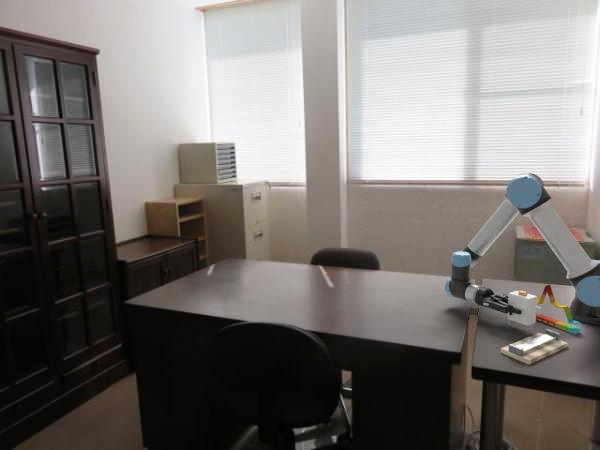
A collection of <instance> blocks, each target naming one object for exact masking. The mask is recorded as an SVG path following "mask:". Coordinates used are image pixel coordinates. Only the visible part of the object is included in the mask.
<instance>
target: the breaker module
mask: <svg viewBox="0 0 600 450" xmlns="http://www.w3.org/2000/svg"><path fill="white" fill-rule="evenodd" d="M507 295H508V304H509V305H511V306H513V308H514V306H517V307H521V308H524V309H527V310H530V311H532V316H531V319H530V318H527V317H524V316H520V315H517V314H514V313H512V315H509V312H508V314H506V315H507V316H506V317H507V318H506V324H507V325H510V326H512V325H515V324H518V323H519V324H521V325H522V327H523V328H522V329H523V331H526V332H527V331H528V332H529V331H530V330H534V329H535V328H536V321H537V320H536V308H537V305H538V304H537V296H538V295H537V296H536V295H534V294H531V293H528V291H525V290H515V291H512V292H509V293H507Z"/></svg>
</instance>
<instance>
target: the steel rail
mask: <svg viewBox="0 0 600 450" xmlns="http://www.w3.org/2000/svg"><path fill="white" fill-rule="evenodd" d="M543 334H544V335H542V336H539V337H537V338H535V339H532V340H530V341H527V342H525V343H522V344H520V345H518V346H515V345H513V343H510V344H508V345H509V351H508V352H511V353H513V354H516V355H518V356H520V357H522V356H523V355H524V354H526V353H528V352H531V351H533V350H535V349H537V348H540V347H542V346H544V345H547V344H549V343H551V342H554V341H556V340H557V341H558V340H561V333H560V332H559V331H555V330H551V329H549V328H546V329H545V333H543Z"/></svg>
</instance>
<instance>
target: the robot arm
mask: <svg viewBox="0 0 600 450" xmlns="http://www.w3.org/2000/svg"><path fill="white" fill-rule="evenodd" d="M552 199H553V198H552V196H551V195H550V194H549V193H548V191H547V189H546V188H545V185H544V182H543V180H542V178H541V177H540V176H539V175H537V174H535V173H533V172H532V173H531V172H524V173H520V174H518V175H516V176H515V177H514V178H512V179H511V180H510V181H509V182H508V184H507V186H506V191H505V195H504V200H503V201H502V203H501V204H500V205H499V206H498V207H497V208H496V210H495V211H494V212H493V213H492V214H491V216H490V217H489V219H488V220H487V221H486V222H485V223H484V224H483V226H481V228H480V230H479V231H478V232H477V233H476V234H475V235H474V237H473V238H472V239H471V240H470V241H469V243H468V244H467V245H466V246H465V248H464V249H463V250H461V251H455V252H453V253H452V255H451V260H450V261H451V267H450V268H451V271H450V272H451V273H450V274H451V276H450V277H449V278H448V279H447V280H446V282H445V285H444V292H445V293H446V294H448V296H452V297H453V298H455V299H460V300H463V301H466V302H468V303H469V302H470V303H471V304H472V305H475V304H476V305H478V306H481V307H483V308H488V309H491V310H494V311H496V312H499V313H502V314H506V315H507V314H508V312H509V315H512V313H514V314H517V315H520V316H524V317H527V318H530V319H531V316H532V311H530V310H527V309H524V308H521V307H517V306H514V308H513V306H511V305H509V304H508V293H503V294H502V295H500V294H498V293H494V290H492V288H489V287H485V286H482V285H479V284H475V283H471V270H472V269H473V268H474V267H475V266H476V265H477V264H478V262H479V261H480V259H481V258H482V257H483V256H484V254H485V253H486V252H487V251H488V250H490V249H489V248H491V246H492V245H493V244H494V243H495V241H496V240H498V238H499V237H500V235H502V234H503V232H504V231H505V230H506V229H507V227H508V226H509V225H510V224H511V223H512V222H513V220H514V219H515V218H516V217H517V216H518V215H519V213H520V214H521V216H522V217H527V218H528V219H530V221H531V222H532V224H533V225H534V227H535V228H536V229H537V231H538V233H539V235H541V236H542V238H543V239H544V241H545V242H546V243H547V245H548V246H549V247H550V249H551V250H552V252H553V253H554V254H555V256H556V258H558V260H559V262H560V263H561V265H562V266H563V267H564V268H565V270H566V271H567V274H566V276H565V277H566V279H567V280H568V281H569V284H570V285H571V286H572V287H573V288H574V290H575V291H574V292H575V294H574V297H573V299H572V301H571V303H570V306H568V308H569V310H570V313H571V316H572V318H573V320H574V321H578V322H581V323H584V324H588V325H589V324H590V325H597V326H600V260H597V259H592V258H591V257H590V256H589V255H588V253H587V252H586V251H585V250H584V248H583V246H582V245H581V244H580V243H579V241H578V240H577V239H576V237H575V235H574V234H573V233H572V232H571V230H570V229H569V228H568V226H567V225H566V224H565V222H564V221H563V219H562V218H561V216H560V215H559V214H558V212H557V211H556V209H555V208H554V207H553V206H552ZM536 314H538V315H542V306H541V307H540V306H537V308H536Z"/></svg>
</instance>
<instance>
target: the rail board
mask: <svg viewBox="0 0 600 450" xmlns="http://www.w3.org/2000/svg"><path fill="white" fill-rule="evenodd" d="M544 334H545V333H542V332H537V333H536V334H533V335H531V336H528V337H525V338H524V339H521V340H518V341H516V342H513V343H512V344H513V345H515V346H518V345H520V344H522V343H525V342H527V341H530V340H532V339H535V338H537V337H539V336H542V335H544ZM568 345H569V342H567V341H564V340H561V339H560V340H558V341H557V340H556V341H554V342H551V343H549V344H547V345H544V346H542V347H540V348H537V349H535V350H533V351H531V352H528V353H526V354H524V355H523V356H522V357H520V356H518V355H516V354H513V353H511V352H508V351H509V344H508V345H506V346H503V347H501V348H500V354H502V355H505V356H508V357H510V358H513V359H515V360H517V361H519V362H522V363H524V364H526V365H531V364H533V363H536V362H538V361H541V360H542V359H544V358H547V357H549V356H551V355H553V354H555V353H558V352H559V351H561V350H564V349H566V348H568V347H569V346H568Z"/></svg>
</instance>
